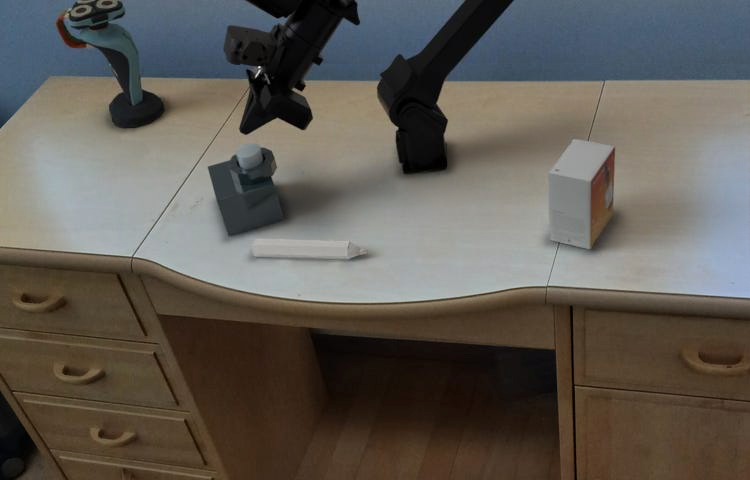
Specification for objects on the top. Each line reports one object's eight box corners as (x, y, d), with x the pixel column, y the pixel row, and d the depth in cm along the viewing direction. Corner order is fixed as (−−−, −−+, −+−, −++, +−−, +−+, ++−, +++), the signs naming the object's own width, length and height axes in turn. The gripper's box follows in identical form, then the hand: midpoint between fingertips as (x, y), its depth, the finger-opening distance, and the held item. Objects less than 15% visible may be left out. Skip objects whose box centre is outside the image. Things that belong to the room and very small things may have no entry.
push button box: (279, 184, 136) (267, 137, 130) (292, 218, 129) (279, 170, 124) (219, 201, 135) (203, 155, 129) (228, 236, 128) (213, 190, 123)
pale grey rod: (372, 262, 121) (257, 258, 125) (374, 247, 121) (259, 243, 125) (367, 255, 118) (250, 251, 122) (369, 240, 119) (252, 236, 123)
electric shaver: (159, 124, 153) (118, 11, 140) (91, 133, 155) (44, 21, 141) (169, 96, 160) (130, -15, 146) (104, 104, 161) (59, -5, 148)
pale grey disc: (261, 152, 128) (257, 140, 127) (265, 165, 126) (262, 152, 124) (237, 159, 128) (233, 147, 127) (241, 172, 125) (237, 159, 124)
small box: (590, 251, 115) (590, 182, 108) (548, 240, 118) (546, 172, 110) (614, 214, 120) (616, 145, 112) (573, 204, 122) (573, 137, 115)
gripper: (238, -25, 120) (179, 74, 126) (265, 34, 106) (198, 142, 112) (308, 17, 126) (249, 109, 132) (342, 78, 112) (275, 178, 119)
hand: (242, 132), depth 124 cm, fingers closed
